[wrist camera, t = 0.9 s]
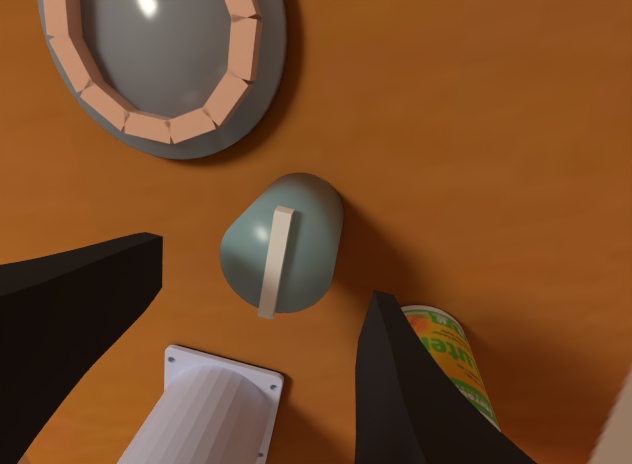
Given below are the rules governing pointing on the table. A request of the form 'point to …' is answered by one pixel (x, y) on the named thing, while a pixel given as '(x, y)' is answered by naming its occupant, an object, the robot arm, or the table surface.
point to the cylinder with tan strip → (285, 245)
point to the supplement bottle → (451, 353)
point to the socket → (170, 67)
